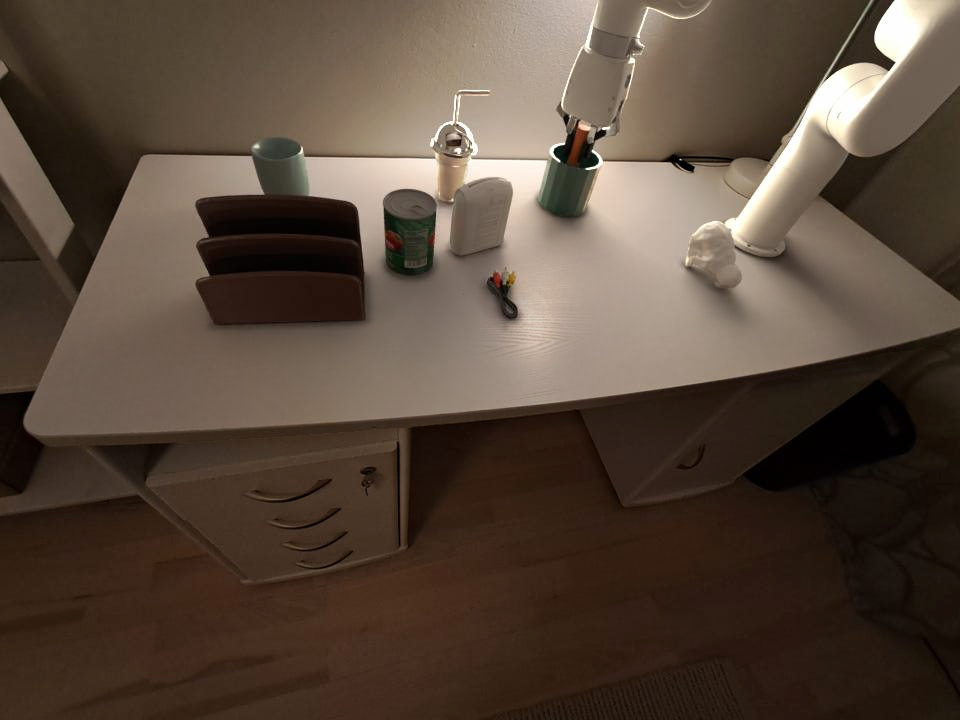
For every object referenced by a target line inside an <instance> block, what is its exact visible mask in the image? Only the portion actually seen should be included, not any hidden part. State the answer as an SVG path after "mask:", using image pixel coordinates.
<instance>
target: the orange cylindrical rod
mask: <svg viewBox="0 0 960 720" xmlns="http://www.w3.org/2000/svg"><path fill="white" fill-rule="evenodd" d="M590 127H591V126H588V125H585V124H580V125H579V126H578V128H577V131H576V135H575V138H574V141H573V145H572V148H571V151H570V154H569V158H568V161H567V164H568V165H570V166H574V167H579V164H580V163H578V162H577V160H578V157H579V154H580V151H581V147H582V144H583V142H584V141H585V140H586V139H587V137H588V134H589V131H590Z"/></svg>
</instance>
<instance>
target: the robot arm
mask: <svg viewBox="0 0 960 720" xmlns="http://www.w3.org/2000/svg"><path fill="white" fill-rule="evenodd" d="M712 1H713V0H597V2H596V7H595V11H594V14H593V18H592V21H591V25H590V29H589V32H588V36H587V40H586V43H585V44H584V45H581V48H580V50H579V52H578V53H577V57H576V59H575V62H574V64H573V66H572V68H571V71H570V74H569V77H568V79H567V82H566V86H565V88H564V92H563V96H562V98H561V99H560V101H559V102H558V104H557V106H555V112H556V113H557V114H558V115H559V117H560V118H562V121H563V123H564V126H565V128H566V129H565V132H566V139H565V142H564V143H565V145H564V149H565V152H564V155H563V156H564V157H568V156H569V154H570V151H571V148H572V145H573V141H574V138H575V135H576V131H577V128H578V126H579V125H581V122H582V121H584V122H586V123H589V124H590V126H589V127H590V131H589V134H588V137H587V139H586V140H585V141H584V142H583V144H582V147H581V151H580V154H579V157H578V160H577V162H578V163H580V164H581V163H582V162H584V161H585V160H586V159H589V157H590V155H591V153H592V150H593V151H594V146H595V144H596V141H598V140H601V139H602V138H604V137H605V138H606V137H607V138H608V137H615V136H617V135H618V134H620V131H621V127H620V118H621V117H622V114H623V111H624V108H625V104H626V101H627V99H628V94H629V90H630V87H631V83H632V79H633V75H634V71H635V64H636V60H635V58H633V56H636V55H637V56H641V55H642V53H643V51H644V48H645V44H641V42H640V33H641V30H642V27H643V25H644V21H645V19H646V16H647V14H648V10H649V9H651V10H653V11H656V12H659V13H661V14H663V15H666V16H668V17H670V18H673V19H678V20H679V19H681V20H683V19H684V20H685V19H689V18H693V17H695V16H697V15H699V14H700V13H702V12H703V11H704V10H705V9H707V7H708V6H709V5H710V4H711V2H712ZM874 43H875V46H876V48H877V50H879V51H880V52H881V53H882V54H883V56H886V57H887V58H888V59H890V60H891V61H893V62H895V63H894V64H893V66H892V67H891V68H890V70H889V71H888V69H886V68H885V67H883V66H880V65H878V64H876V63H870V62H858V63H853V64H850V65H847V66H844V67H843V68H841V69H839V70H837V71H836V72H834V73H833V74H832V75H831V76H829V77H828V79H826V80H825V81H824V82H823V84H822V85H821V86H820V87H819V88H818V90H817V91H816V93H814V94H815V95H814V96H813V98H812V99H811V101H810V103H809V106H808V108H807V109H806V112H805V113H804V116H803V118H802V120H801V122H800V124H799V126H798V127H797V129H796V130H795V133H794V134H793V135H792V137H791V139H790V140H789V142H788V144H787V145H786V146H785V148H784V149H783V151H782V153H781V154H780V156H779V157H778V158H777V159H776V161H775V162H774V164H773V165H772V167H771V168H770V170H769V172H768V173H767V175H765V177H764V179H763V180H762V182H761V183H760V185H759V186H758V188H757V189H756V190H755V192H754V193H753V194H752V196H751V198H750V199H749V201H747V204H746V205H745V207H744V208H743V209H742V211H741V213H740V214H739V215H738V216H737V217H731V218H728V219H727V220H726V221H725V223H724V224H725V225H726V226H727V227H728V228H729V230H730V231H731V233H732V237H733V239H734V243H735V247H736V248H738V249H740V250H742V251H744V252H746V253H748V254H751V255H754V256H758V257H762V258H775V257H777V256H780V255H782V254H783V252H784V251H785V250H786V242H785V240H784V238H785V236H787V235H788V233H789V232H790V230H791V229H792V228H793V226H795V224H796V223H797V222H798V220H799V219H800V218H801V217H802V216H803V215H804V213H805V212H806V211H807V210H808V208H809V207H810V206H811V205H812V203H813V202H814V201H815V200H816V198H817V197H818V196H819V194H821V192H822V191H823V189H824V188H825V187H826V186H827V185H828V183H829V182H830V181H831V180H832V179H833V178H834V177H835V175H836V174H837V173H838V171H839V170H840V169H841V168H842V166H843V164H844V163H845V161H846V159H847V158H848V156H849V154H851V155H853V156H856V157H859V158H871V157H876V156H880V155H883V154H885V153H887V152H888V151H889V152H890V151H892V150H893V149H895V148H897V147H898V146H899V145H900V144H902V143H904V142H905V141H906V140H907V139H908V138H910V137H911V136H912V135H913V134H914V133H915V132H917V130H918V129H919V128H920V127H921V126H922V125H923V124H924V123H925V122H926V121H927V120H928V119H929V118H930V117H931V116H932V115H933V114H934V113H935V112H936V111H937V110H938V109H939V108H940V107H941V106H942V105H943V103H944V102H945V101H946V100H947V99H949V97H950V96H951V95H952V94H953V93H954V92H955V91H956V90H957V89H958V88H959V87H960V0H894V1H892V3H891V5H890V6H889V8H888V9H887V10H886V12H885V13H884V14H883V16H882V17H881V19H880V21H879V22H878V24H877V27H876V29H875V32H874Z"/></svg>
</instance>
